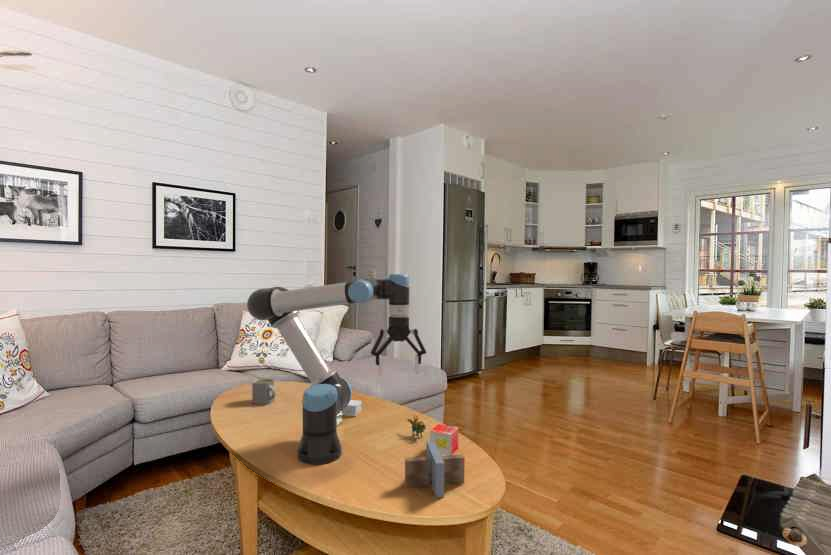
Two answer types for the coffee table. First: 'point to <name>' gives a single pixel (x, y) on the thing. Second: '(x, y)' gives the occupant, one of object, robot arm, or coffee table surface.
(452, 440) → the red patterned cube
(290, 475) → the coffee table surface
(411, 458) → the walnut slotted upright
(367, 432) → the coffee table surface
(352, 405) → the small box
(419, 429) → the figurine
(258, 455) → the coffee table surface
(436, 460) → the grey slotted plate
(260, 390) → the coffee mug
